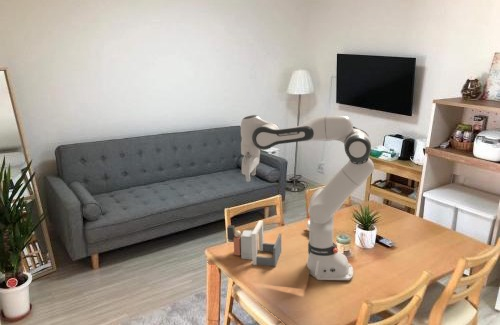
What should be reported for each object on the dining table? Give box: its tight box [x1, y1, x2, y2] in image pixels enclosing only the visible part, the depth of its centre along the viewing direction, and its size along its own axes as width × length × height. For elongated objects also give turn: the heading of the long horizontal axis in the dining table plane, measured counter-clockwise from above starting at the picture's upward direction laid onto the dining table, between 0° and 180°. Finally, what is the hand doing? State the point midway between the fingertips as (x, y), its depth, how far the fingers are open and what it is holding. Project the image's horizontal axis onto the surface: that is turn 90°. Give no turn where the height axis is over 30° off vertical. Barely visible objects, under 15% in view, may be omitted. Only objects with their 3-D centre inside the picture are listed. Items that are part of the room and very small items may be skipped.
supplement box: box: [240, 230, 259, 260], centre depth 196 cm, size 7×7×13 cm
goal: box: [252, 220, 282, 268], centre depth 193 cm, size 12×16×16 cm
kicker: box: [226, 224, 242, 256], centre depth 197 cm, size 7×5×14 cm
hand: (250, 178), depth 184 cm, fingers open, 8 cm apart
